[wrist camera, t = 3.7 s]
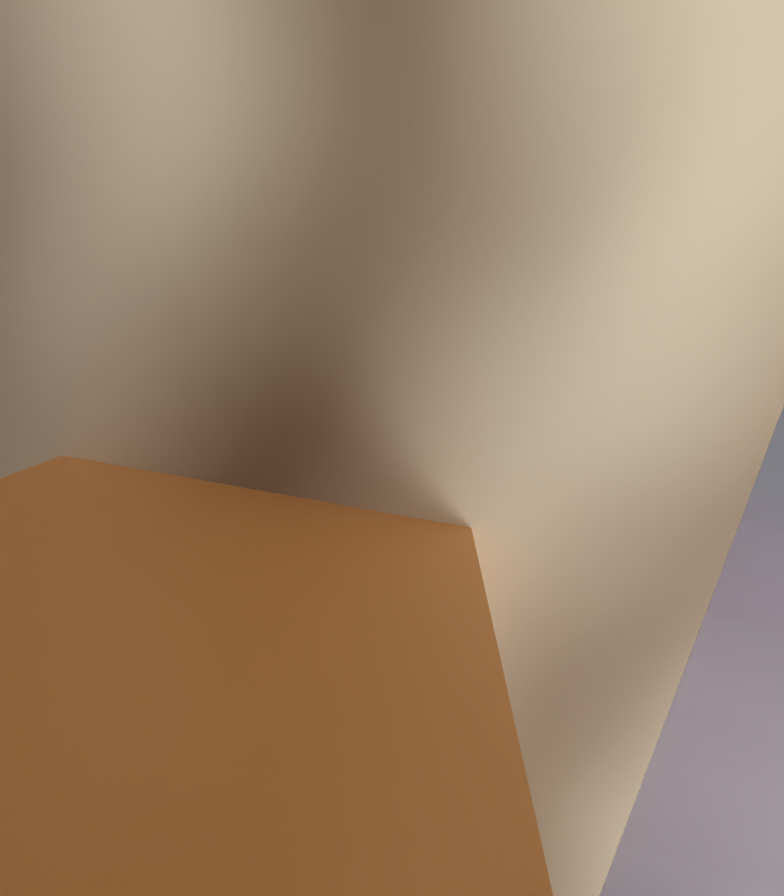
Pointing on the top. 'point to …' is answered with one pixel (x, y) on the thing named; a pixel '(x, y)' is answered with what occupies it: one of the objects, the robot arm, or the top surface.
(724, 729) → the top surface
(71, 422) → the board
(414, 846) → the tan wooden cube
